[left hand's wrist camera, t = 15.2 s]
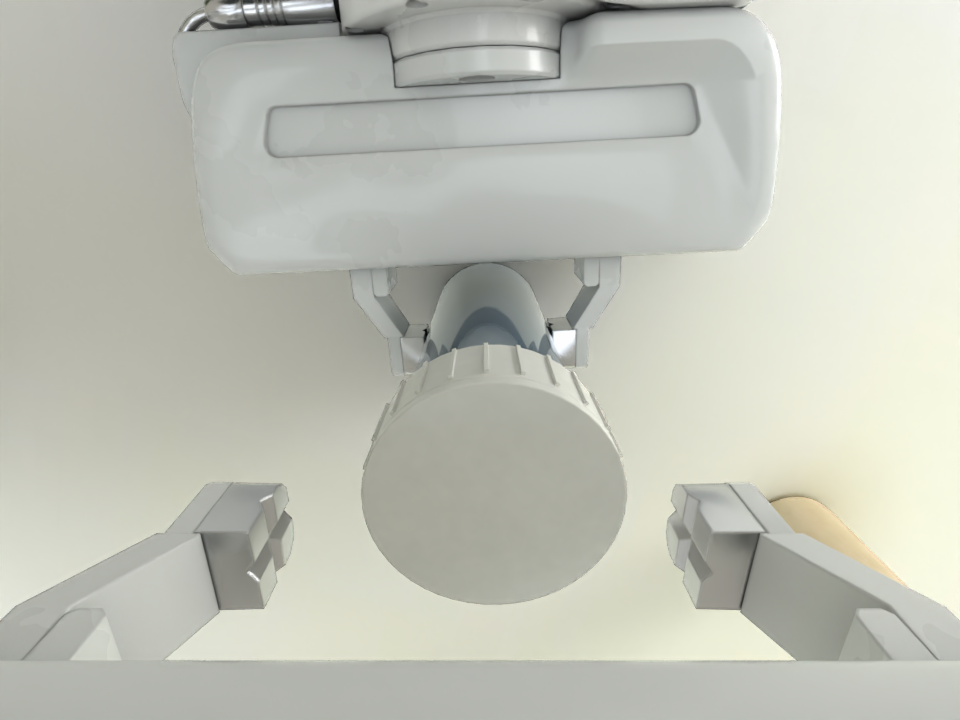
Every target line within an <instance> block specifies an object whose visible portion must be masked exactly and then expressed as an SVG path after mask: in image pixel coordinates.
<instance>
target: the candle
mask: <svg viewBox="0 0 960 720" xmlns="http://www.w3.org/2000/svg"><path fill="white" fill-rule="evenodd" d="M770 504H771V505H772V506H773V507H774V509H775V510H776V511H777V512H778V513H779V514H780V516H781V517H782V518H783V519H784V520H785V522H786V523H787V524H788V525H789V526H790V527H791V529H792V530H793V531H794V532H795V533H804V534H806V535H807V536H809V537H811V538H813V539H815V540H817V541H819V542H821V543H823V544H825V545H827V546H829V547H831V548H833V549H835V550H836V551H838V552H840V553H842V554H844V555H846V556H848V557H850V558H852V559H854V560H856V561H858V562H860V563H862V564H864V565H866V566H867V567H869V568H871V569H873V570H875V571H877V572H879V573H881V574H883V575H885V576H887V577H889V578H891V579H893V580H895V581H896V582H898V583H900V584H902V585H904V586H906V585H905V584H904V583H903V582H902V581H901V580H900V579H899V578H898V577H897V576H896V575H895V574H894V573H893V572H892V571H891V570H890V569H889V568H888V567H887V566H886V565H885V564H884V563H883V562H882V561H881V560H880V559H879V558H878V557H877V556H876V555H875V554H874V553H873V552H872V551H871V550H870V549H869V548H868V547H867V546H866V545H865V544H864V543H863V542H862V541H861V540H860V539H859V538H858V537H857V536H856V535H855V534H854V533H853V532H852V531H851V530H850V529H849V528H848V527H847V526H846V525H845V524H844V523H843V522H842V521H841V520H840V519H838V518H837V517H836V516H835V515H834V514H833V513H832V512H831V511H830V510H829V509H828V508H827V507H825V506H824V505H822V504H821V503H819V502H817V501H815V500H813V499H810V498H806V497H787V498H782V499H779V500H776V501H774V502H771V503H770ZM906 587H907V586H906Z"/></svg>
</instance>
